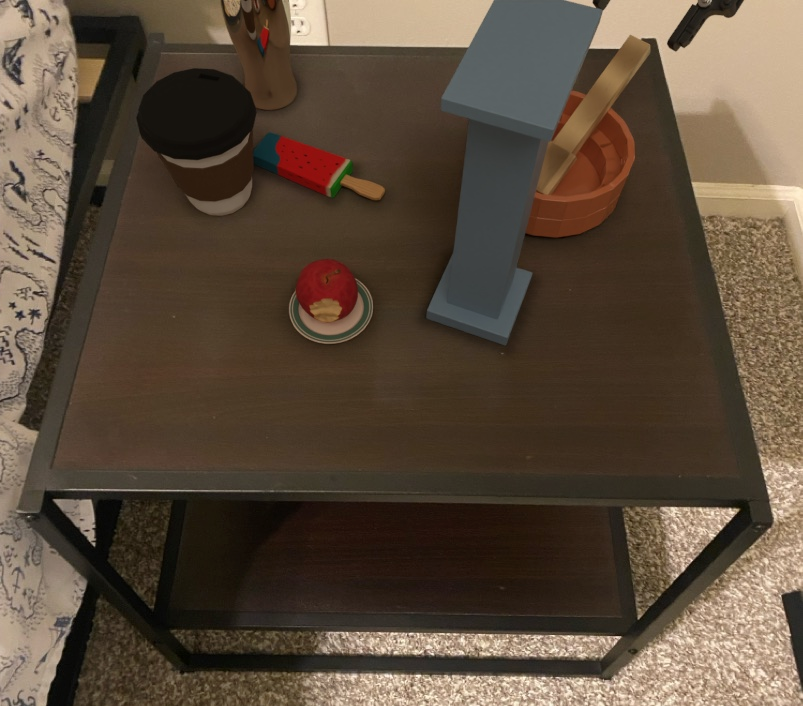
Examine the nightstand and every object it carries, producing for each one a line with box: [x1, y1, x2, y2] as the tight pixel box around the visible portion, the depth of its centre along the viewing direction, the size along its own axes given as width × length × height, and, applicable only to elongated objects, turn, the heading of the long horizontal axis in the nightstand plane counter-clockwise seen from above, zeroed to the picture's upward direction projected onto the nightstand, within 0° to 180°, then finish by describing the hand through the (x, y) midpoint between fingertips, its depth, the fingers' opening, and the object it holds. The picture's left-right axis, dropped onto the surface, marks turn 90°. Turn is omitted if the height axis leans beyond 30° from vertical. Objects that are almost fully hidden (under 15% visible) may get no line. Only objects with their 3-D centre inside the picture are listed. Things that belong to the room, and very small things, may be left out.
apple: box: [288, 258, 374, 345], centre depth 65 cm, size 8×8×6 cm
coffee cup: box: [135, 67, 258, 217], centre depth 70 cm, size 11×11×12 cm
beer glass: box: [219, 0, 298, 111], centre depth 76 cm, size 7×7×15 cm
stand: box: [425, 0, 604, 346], centre depth 57 cm, size 12×8×28 cm, turn 158°
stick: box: [536, 34, 651, 195], centre depth 73 cm, size 18×4×2 cm, turn 138°
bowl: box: [525, 89, 636, 239], centre depth 74 cm, size 16×16×6 cm
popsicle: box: [253, 132, 386, 201], centre depth 76 cm, size 4×2×15 cm
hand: (633, 26), depth 67 cm, fingers open, 8 cm apart
